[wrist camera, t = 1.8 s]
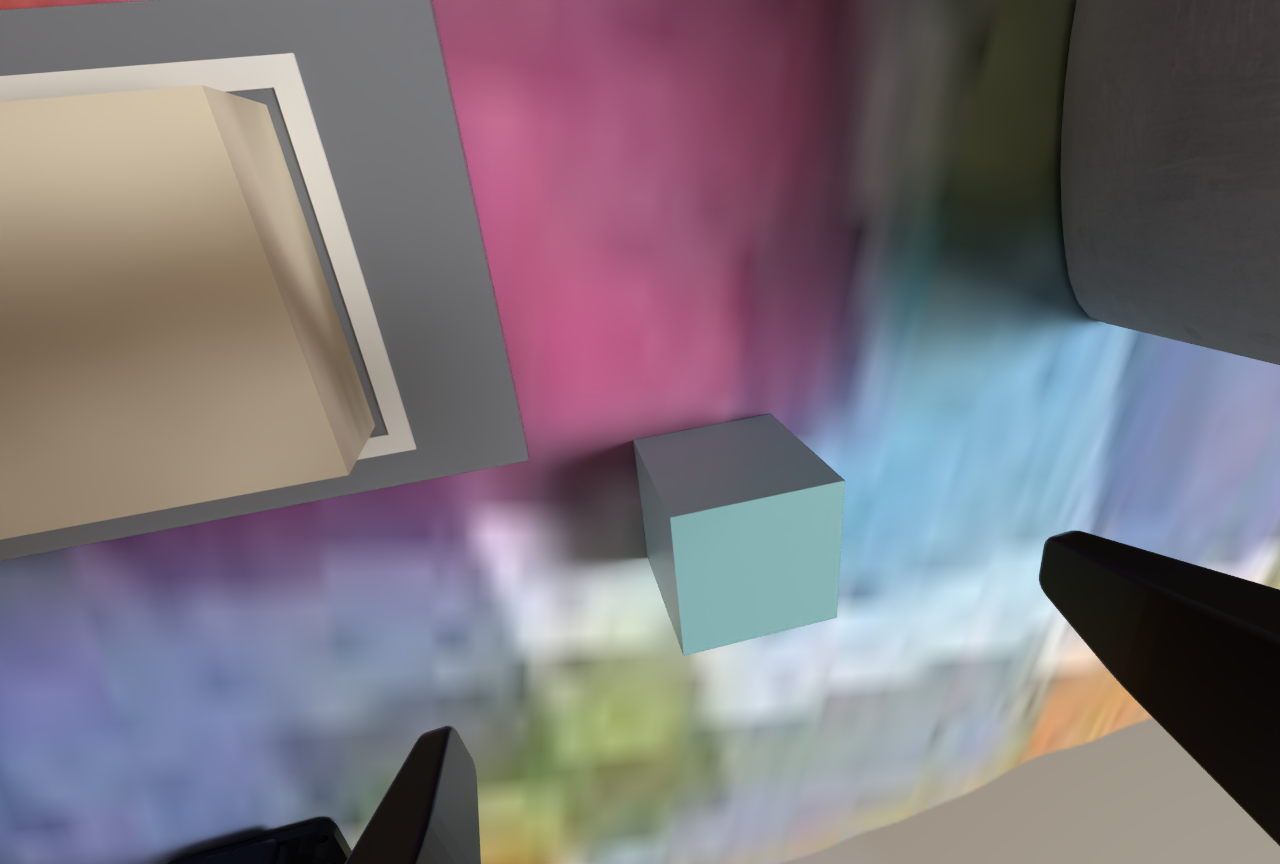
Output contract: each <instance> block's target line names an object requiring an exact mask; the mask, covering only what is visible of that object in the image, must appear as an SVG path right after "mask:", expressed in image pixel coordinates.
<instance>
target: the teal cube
mask: <svg viewBox="0 0 1280 864" xmlns="http://www.w3.org/2000/svg"><path fill="white" fill-rule="evenodd" d="M633 443H634V451H635V459H636V467H637V475H638V483H639V491H640V499H641V507H642V515H643V523H644V532H645V540H646V548H647V556H648V560H649V562H650V565H651V568H652V571H653V573H654V576H655V579H656V582H657V584H658V587H659V590H660V592H661V595H662V598H663V601H664V603H665V606H666V609H667V612H668V614H669V617H670V620H671V622H672V625H673V628H674V631H675V633H676V636H677V639H678V642H679V644H680V647H681V650H682V652H683V655H684V656H685V655H689V654H693V653H697V652H701V651H705V650H709V649H713V648H717V647H721V646H725V645H729V644H733V643H737V642H741V641H745V640H749V639H753V638H757V637H761V636H765V635H769V634H773V633H777V632H781V631H785V630H789V629H793V628H797V627H801V626H805V625H809V624H813V623H817V622H821V621H825V620H829V619H833V618H837V606H838V589H839V573H840V556H841V539H842V523H843V506H844V489H845V480H844V479H843V478H842V477H841V476H839V475H838V474H837V473H836V472H835V471H834V470H833V469H832V468H830V467H829V466H828V465H827V464H826V463H825V462H824V461H823V460H822V459H820V458H819V457H818V456H817V455H816V454H815V453H814V452H813V451H812V450H810V449H809V448H808V447H807V446H806V445H805V444H804V443H803V442H802V441H800V440H799V439H798V438H797V437H796V436H795V435H794V434H793V433H792V432H790V431H789V430H788V429H787V428H786V427H785V426H784V425H783V424H782V423H780V422H779V421H778V420H777V419H776V418H775V417H774V416H773V415H771V414H767V415H762V416H757V417H752V418H746V419H741V420H736V421H731V422H725V423H720V424H715V425H710V426H704V427H699V428H694V429H689V430H683V431H678V432H673V433H668V434H662V435H657V436H652V437H647V438H642V439H636V440H633Z"/></svg>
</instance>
